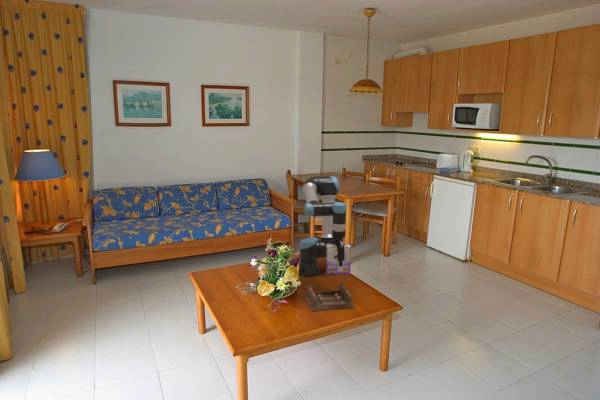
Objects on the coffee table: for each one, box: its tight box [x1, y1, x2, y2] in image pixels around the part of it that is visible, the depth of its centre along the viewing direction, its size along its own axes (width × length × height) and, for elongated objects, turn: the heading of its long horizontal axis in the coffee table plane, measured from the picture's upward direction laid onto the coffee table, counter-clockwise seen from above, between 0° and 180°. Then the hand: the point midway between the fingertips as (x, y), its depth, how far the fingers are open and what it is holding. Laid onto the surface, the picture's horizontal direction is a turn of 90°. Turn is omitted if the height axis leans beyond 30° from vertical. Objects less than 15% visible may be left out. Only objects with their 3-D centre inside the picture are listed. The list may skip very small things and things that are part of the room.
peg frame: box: [304, 282, 355, 312], centre depth 224 cm, size 18×24×7 cm
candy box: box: [325, 243, 352, 275], centre depth 228 cm, size 14×6×16 cm, turn 86°
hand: (337, 268), depth 229 cm, fingers closed on candy box, 7 cm apart
